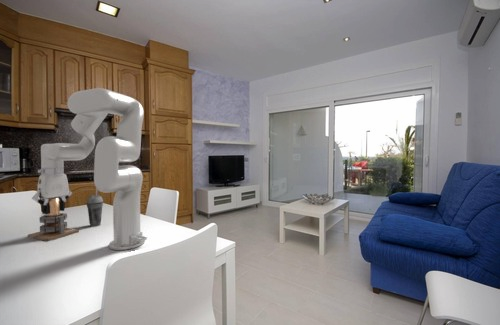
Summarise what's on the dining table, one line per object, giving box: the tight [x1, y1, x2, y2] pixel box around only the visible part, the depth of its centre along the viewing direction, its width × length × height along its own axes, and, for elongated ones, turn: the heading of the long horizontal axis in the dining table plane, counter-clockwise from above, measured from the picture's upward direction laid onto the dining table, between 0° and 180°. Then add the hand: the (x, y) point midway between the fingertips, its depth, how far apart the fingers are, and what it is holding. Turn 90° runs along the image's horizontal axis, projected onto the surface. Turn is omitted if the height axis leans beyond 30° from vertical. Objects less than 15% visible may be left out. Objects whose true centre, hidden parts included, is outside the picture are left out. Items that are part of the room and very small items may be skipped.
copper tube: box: [47, 197, 61, 234], centre depth 102 cm, size 5×5×18 cm
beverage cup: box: [85, 187, 104, 228], centre depth 116 cm, size 7×7×20 cm
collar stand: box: [27, 212, 80, 242], centre depth 102 cm, size 14×12×8 cm
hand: (53, 211), depth 102 cm, fingers open, 5 cm apart
